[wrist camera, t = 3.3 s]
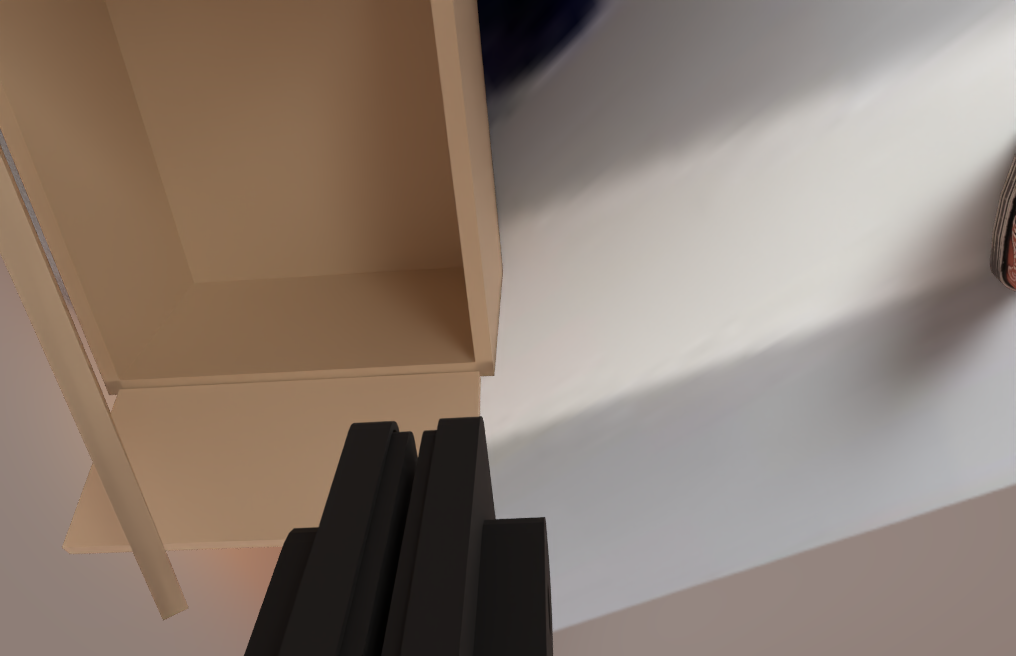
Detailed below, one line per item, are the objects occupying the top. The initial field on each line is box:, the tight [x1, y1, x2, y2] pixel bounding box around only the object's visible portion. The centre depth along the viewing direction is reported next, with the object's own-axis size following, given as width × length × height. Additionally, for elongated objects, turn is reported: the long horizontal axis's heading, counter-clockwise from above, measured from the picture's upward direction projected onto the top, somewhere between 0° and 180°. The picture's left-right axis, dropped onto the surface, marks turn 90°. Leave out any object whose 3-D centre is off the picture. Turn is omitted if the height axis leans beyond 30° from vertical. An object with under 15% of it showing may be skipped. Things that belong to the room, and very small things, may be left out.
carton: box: [0, 0, 503, 554], centre depth 26 cm, size 14×22×14 cm, turn 5°
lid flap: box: [0, 146, 188, 620], centre depth 20 cm, size 12×17×1 cm
